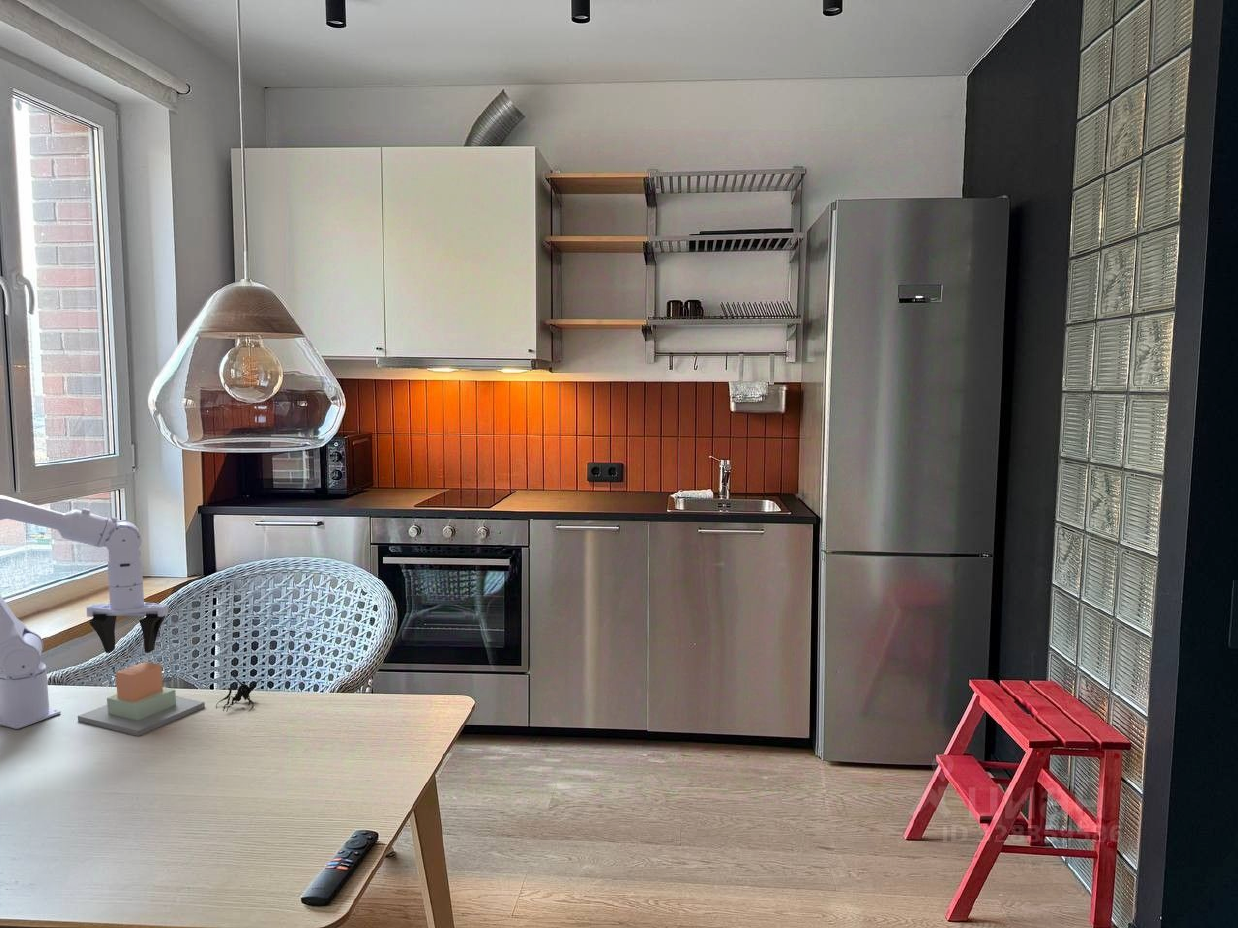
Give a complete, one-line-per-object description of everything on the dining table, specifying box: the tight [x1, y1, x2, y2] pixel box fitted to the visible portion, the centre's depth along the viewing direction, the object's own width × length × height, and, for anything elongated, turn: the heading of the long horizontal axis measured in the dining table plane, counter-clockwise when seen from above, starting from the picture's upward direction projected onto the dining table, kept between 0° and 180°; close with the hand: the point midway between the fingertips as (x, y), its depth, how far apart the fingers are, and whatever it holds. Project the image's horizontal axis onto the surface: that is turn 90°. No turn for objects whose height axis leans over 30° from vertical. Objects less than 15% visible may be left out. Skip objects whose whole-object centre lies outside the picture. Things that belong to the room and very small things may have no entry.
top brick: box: [115, 661, 164, 702], centre depth 155 cm, size 4×6×5 cm
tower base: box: [77, 686, 206, 737], centre depth 156 cm, size 16×14×4 cm
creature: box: [215, 676, 262, 712], centre depth 160 cm, size 8×5×8 cm
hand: (130, 651), depth 162 cm, fingers open, 7 cm apart
